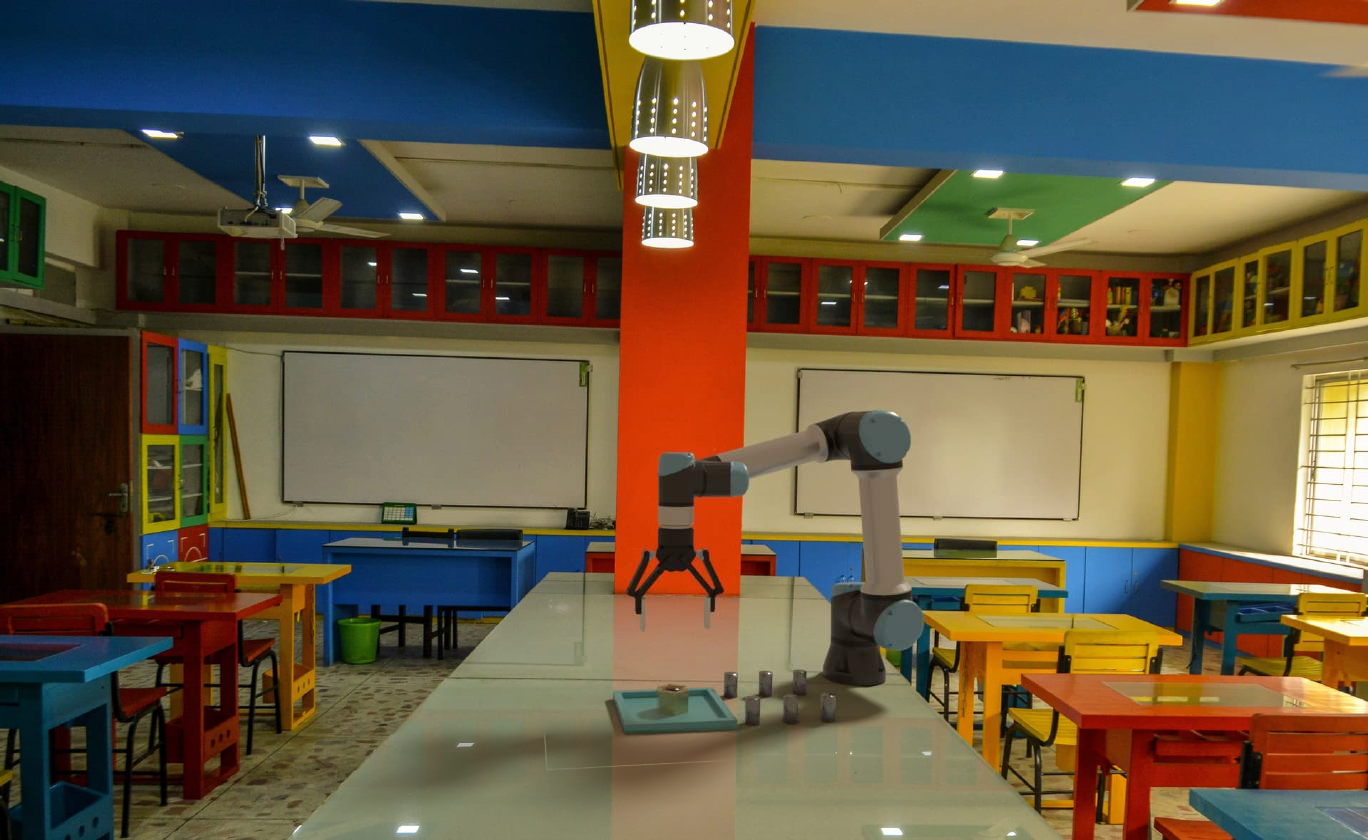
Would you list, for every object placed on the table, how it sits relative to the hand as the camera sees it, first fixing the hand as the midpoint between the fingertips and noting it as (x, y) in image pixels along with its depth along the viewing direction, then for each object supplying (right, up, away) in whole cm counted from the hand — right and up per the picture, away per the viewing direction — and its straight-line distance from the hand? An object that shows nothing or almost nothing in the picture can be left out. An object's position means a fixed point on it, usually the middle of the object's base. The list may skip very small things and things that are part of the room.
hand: (675, 629), depth 173 cm
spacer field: (+22, -18, +5) cm, 29 cm away
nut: (-1, -17, -1) cm, 17 cm away
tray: (-1, -17, -1) cm, 17 cm away
